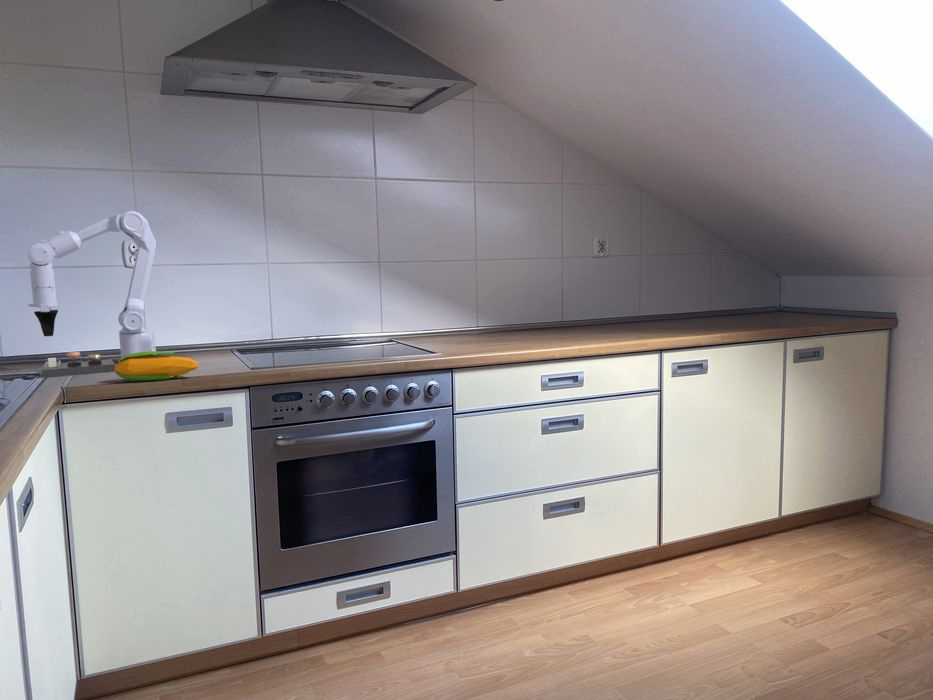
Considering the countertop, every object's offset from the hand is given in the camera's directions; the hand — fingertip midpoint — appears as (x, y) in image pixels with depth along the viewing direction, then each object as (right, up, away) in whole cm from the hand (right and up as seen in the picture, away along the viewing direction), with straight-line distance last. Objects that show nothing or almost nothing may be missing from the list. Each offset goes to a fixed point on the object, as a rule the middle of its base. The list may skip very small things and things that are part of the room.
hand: (48, 336), depth 195 cm
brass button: (+14, -7, -2) cm, 16 cm away
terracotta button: (+10, -7, -5) cm, 13 cm away
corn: (+39, -12, -18) cm, 45 cm away
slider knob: (+7, -8, -9) cm, 14 cm away
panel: (+11, -10, -4) cm, 15 cm away
